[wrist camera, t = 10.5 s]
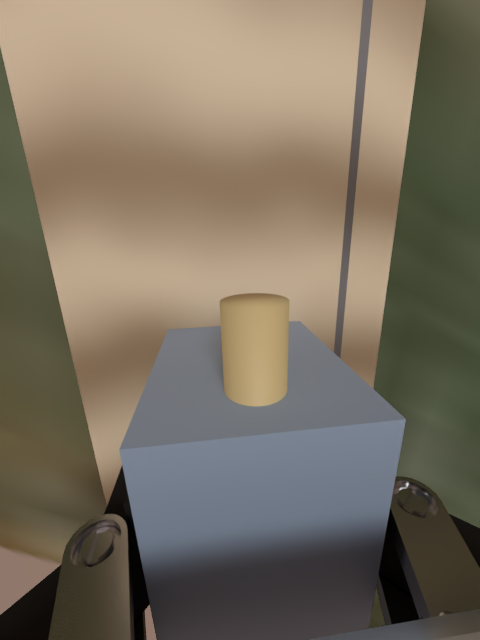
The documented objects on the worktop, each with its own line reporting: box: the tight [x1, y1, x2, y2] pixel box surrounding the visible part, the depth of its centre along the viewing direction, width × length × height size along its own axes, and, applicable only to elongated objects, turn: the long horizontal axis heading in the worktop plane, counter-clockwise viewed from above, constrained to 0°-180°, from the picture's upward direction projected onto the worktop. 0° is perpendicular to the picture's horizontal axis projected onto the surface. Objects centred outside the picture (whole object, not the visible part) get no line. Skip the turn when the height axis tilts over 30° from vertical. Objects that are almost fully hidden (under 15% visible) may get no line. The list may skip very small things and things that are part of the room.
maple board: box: [0, 0, 426, 505], centre depth 10 cm, size 28×12×2 cm, turn 2°
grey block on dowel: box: [119, 293, 406, 640], centre depth 9 cm, size 12×5×6 cm, turn 2°
